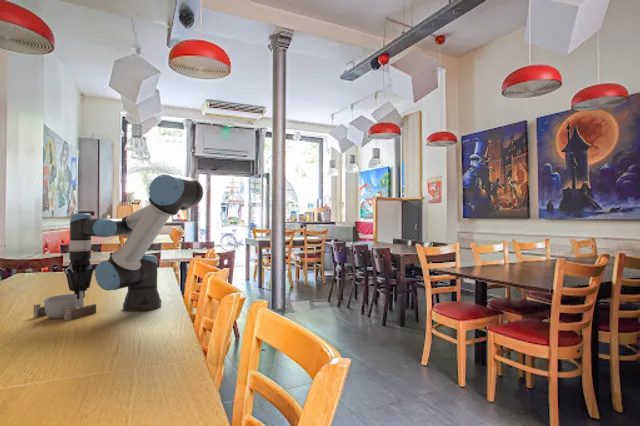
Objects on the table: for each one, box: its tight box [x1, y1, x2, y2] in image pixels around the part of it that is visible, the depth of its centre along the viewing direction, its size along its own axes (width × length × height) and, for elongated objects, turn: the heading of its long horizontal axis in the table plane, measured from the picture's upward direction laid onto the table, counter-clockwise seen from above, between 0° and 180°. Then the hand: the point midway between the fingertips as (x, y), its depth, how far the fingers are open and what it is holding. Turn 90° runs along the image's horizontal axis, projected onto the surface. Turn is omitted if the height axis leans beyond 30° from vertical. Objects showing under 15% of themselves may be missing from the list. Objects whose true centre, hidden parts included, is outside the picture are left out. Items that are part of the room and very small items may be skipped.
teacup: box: [43, 293, 78, 320], centre depth 149 cm, size 14×11×8 cm
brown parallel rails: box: [33, 303, 97, 322], centre depth 150 cm, size 17×13×5 cm
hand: (79, 306), depth 156 cm, fingers closed
